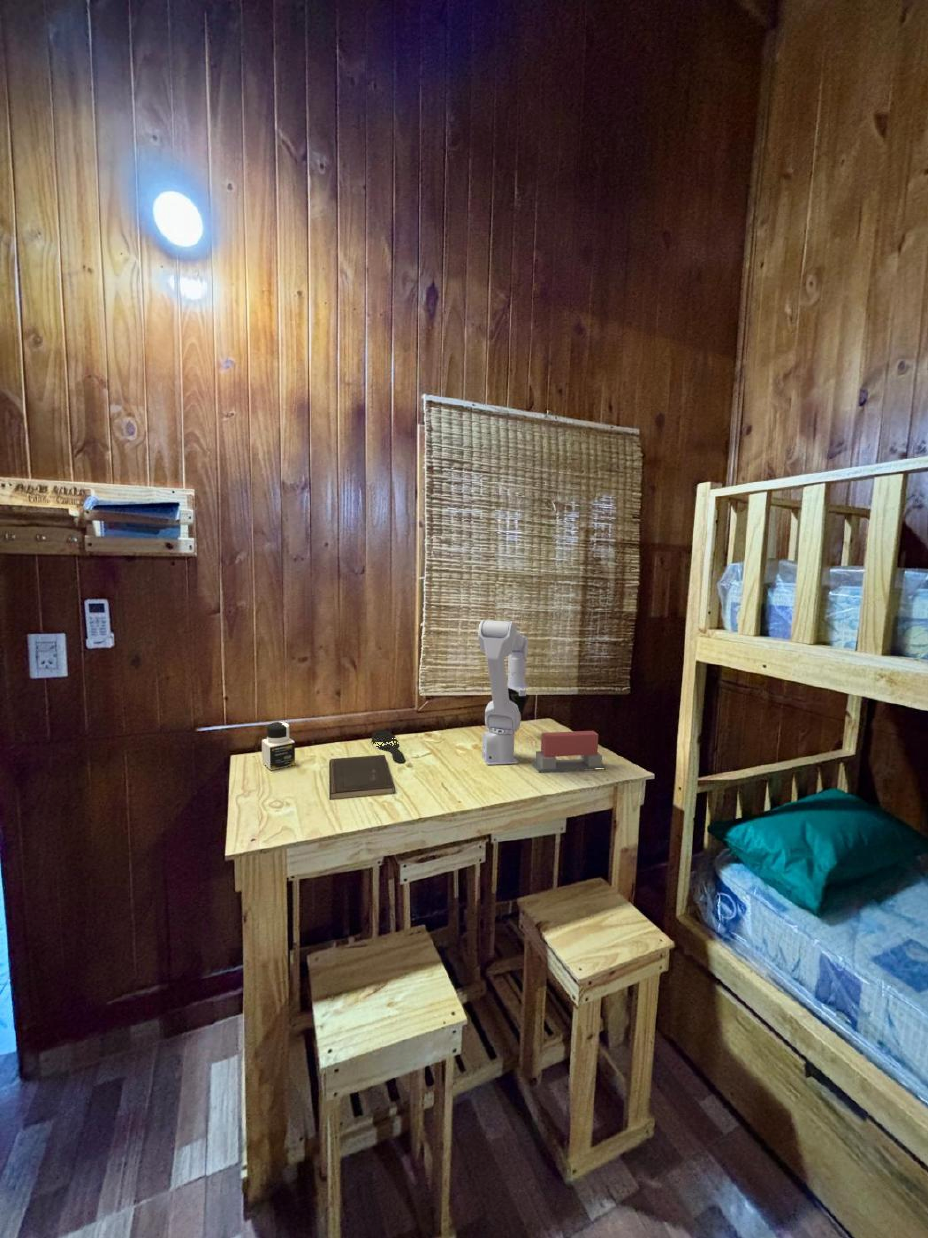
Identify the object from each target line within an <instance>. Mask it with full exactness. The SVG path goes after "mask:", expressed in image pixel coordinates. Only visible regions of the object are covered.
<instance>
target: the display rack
mask: <svg viewBox="0 0 928 1238" xmlns="http://www.w3.org/2000/svg"><path fill="white" fill-rule="evenodd" d="M531 763H532V766H533V768H534V769H535V770H536V771H537V772H538V773H541V772H543V773H556V772H557V773H558V772H560V773H561V772H573V771H575V772H576V770H579V771H586V770H585V769H595V768H605V769H606V765H605V764H604V763H603V755H602V754H600V753H599V752H598V754H597V755H580V758H577V759H576V758H574V759H573V758H572V759H557V757H544V756H543V754H542V753H541V750H539V751H537V750H536V751H535V761H533V760H532V762H531Z"/></svg>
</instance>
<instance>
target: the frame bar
mask: <svg viewBox="0 0 928 1238" xmlns="http://www.w3.org/2000/svg"><path fill="white" fill-rule="evenodd" d="M540 743H541V744H540V751H541V753H542V754H543V756H544V757H556V758H557V757H572V756H573V757H575V756H576V757H577V756H581V755H597V754H598V753H599V752H598V751H599V750H598V749H599V734H598V733H597V732H596V731H595V730H578V731H555V732H553V731H551V732H550V731H549V732H541V742H540Z"/></svg>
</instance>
